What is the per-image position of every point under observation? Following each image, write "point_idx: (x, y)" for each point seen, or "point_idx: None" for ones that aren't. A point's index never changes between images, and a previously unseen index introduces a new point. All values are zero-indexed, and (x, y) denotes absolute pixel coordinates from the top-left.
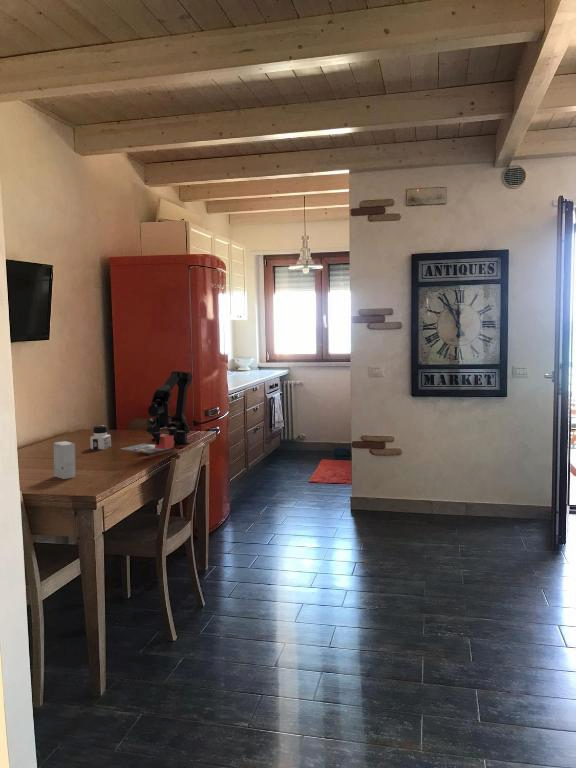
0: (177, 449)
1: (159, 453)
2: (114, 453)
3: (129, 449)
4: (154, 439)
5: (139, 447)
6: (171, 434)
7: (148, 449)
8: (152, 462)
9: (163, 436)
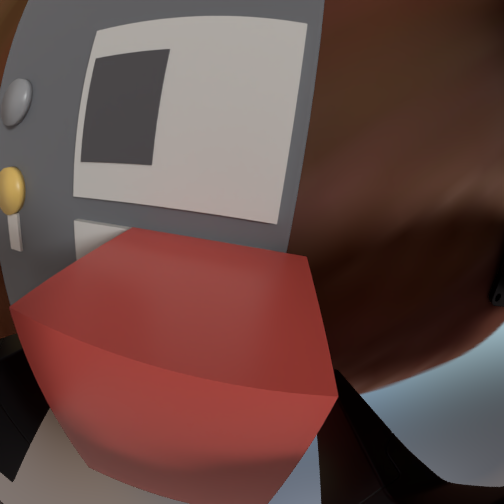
0: None
1: None
2: (12, 14)
3: (21, 46)
4: (9, 337)
5: (104, 22)
6: (337, 488)
7: (58, 205)
8: None
9: (105, 458)
